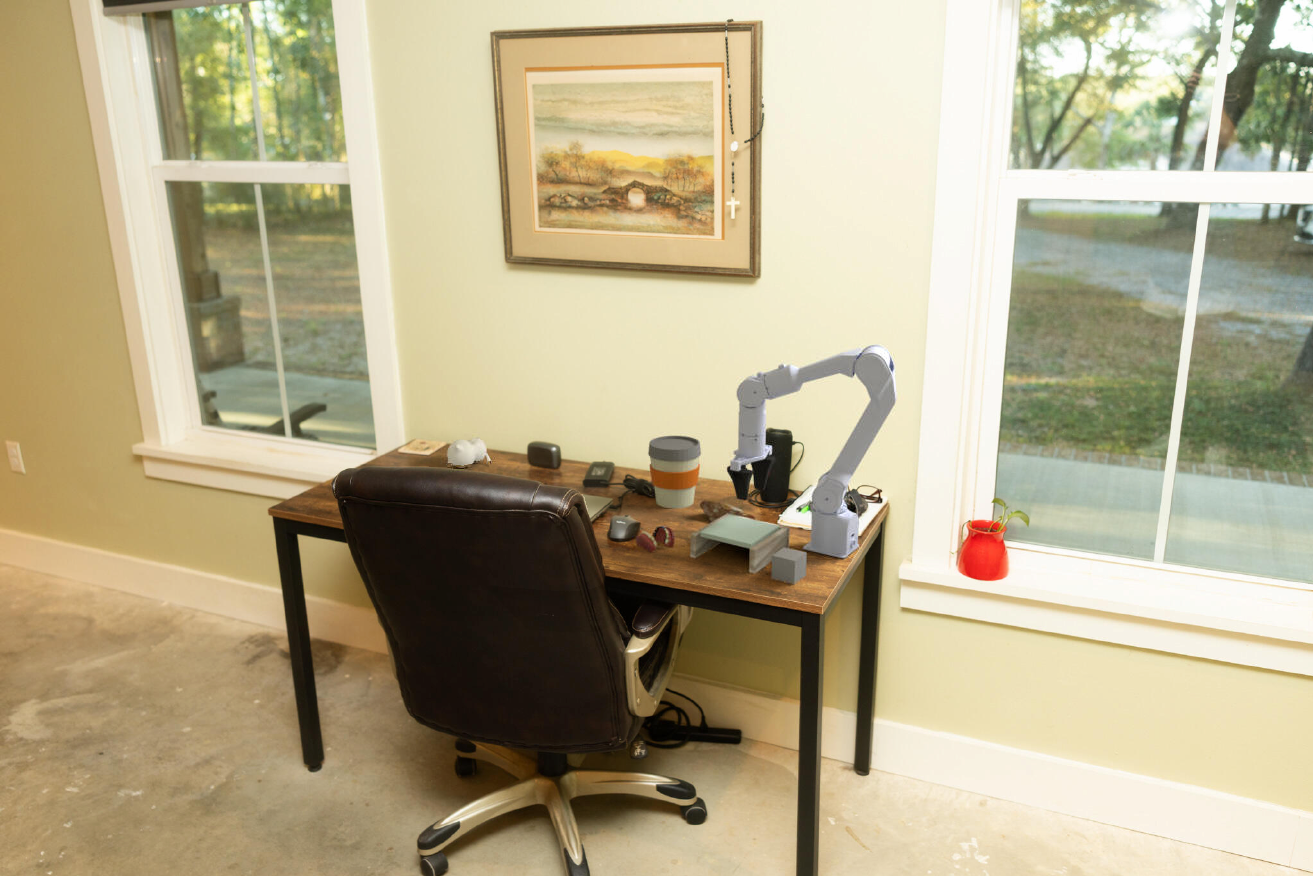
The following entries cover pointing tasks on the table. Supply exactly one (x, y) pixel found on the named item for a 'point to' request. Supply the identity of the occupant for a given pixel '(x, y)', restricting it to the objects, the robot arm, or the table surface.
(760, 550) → the frame
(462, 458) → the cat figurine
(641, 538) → the dentures model
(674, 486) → the reusable coffee cup
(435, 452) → the table surface
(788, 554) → the granite block
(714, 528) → the trapdoor
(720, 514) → the decorative stone
